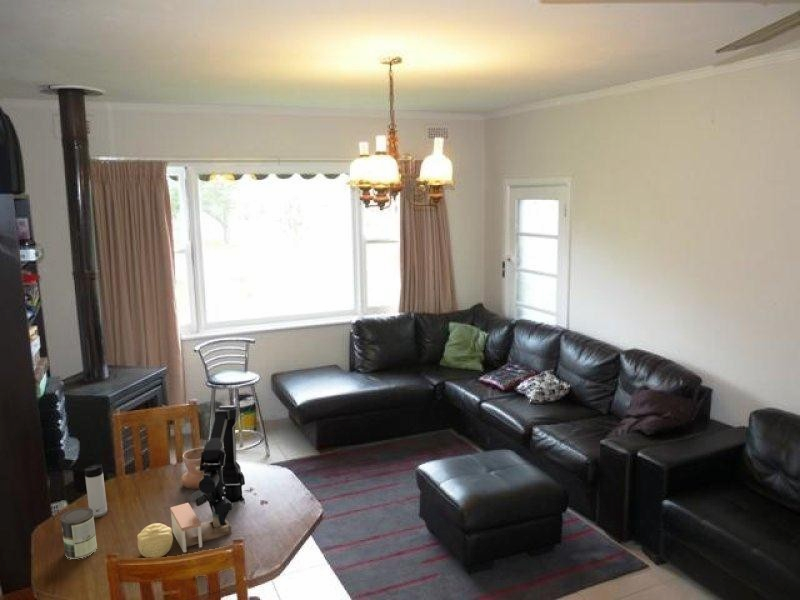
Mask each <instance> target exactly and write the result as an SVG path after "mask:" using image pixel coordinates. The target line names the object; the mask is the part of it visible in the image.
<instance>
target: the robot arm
mask: <svg viewBox="0 0 800 600" xmlns="http://www.w3.org/2000/svg"><path fill="white" fill-rule="evenodd" d="M239 416H240V409H239V408H238V407H237V405H219V408H215V409H214V422H213V426H212V429H211V434H210V438H209V440H208V441H207V442H206V443H205V445H204V447H203V448H204V450H203V451H202V453H201V462H200V471H204V476H203V477H202V479H201V481H200V482H199V489H197V490H196V491H195V492H193V493H192V494H190V497H191V499H192V501H193V502H194V504H195V506H196V507H200V506H202V505H204V504H205V503H207V502H208V505H209V507H210V510H211V511H210V512H212V511H213V512H214V513H215V514H217V516H218V520H219V523H220V525H223V524H224V522H225V519H227V517H228V516H229V515H228V514H229V513H230V512H231V511H232V510H233V503H235V502H238V501H242V500H244V499H245V498H244V497H243V486H244V485H246V479H245V474H243V472H242V471H241V469H242V468H241V465H240V464H239V462H238V461H237V455H236V452H237V451H236V437H235V435H236V433H235V425H236V424H237V422H238V421H239ZM204 463H205V464H209V465H204Z"/></svg>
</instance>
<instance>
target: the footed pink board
mask: <svg viewBox="0 0 800 600" xmlns="http://www.w3.org/2000/svg"><path fill="white" fill-rule="evenodd" d="M169 511H170V515H171V517H170V518H171V529H172V535H173V536H174V537H175V539H176V541H177V543H178V545H179V546H180V549H181V550H182V552H183V553H187V547H186V539H185V530H188V529H192V528H195V527H197V531H198V548H202V547H203V542H202V536H201V523H202V522H201V521H200V519H199V518H198V515H197V514H196V513H195V511H194V510H193V508H192V506H191V504H190V503H189V502H185V503H182V504H178V505H174V506H171V507H170V509H169Z"/></svg>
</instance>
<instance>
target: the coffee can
mask: <svg viewBox="0 0 800 600" xmlns="http://www.w3.org/2000/svg"><path fill="white" fill-rule="evenodd" d="M60 524H61V533H62V539H63V546H64V556H66V557H67V558H66V557H65V558H66V559H68V558H70V559H69V560H71V559H78V558H82V559H84V558H83V557H85V558H87V557H86V556H88V557H90V556H92V555H93V554H94V553H95V552H96V551H97V550H98V546H97V545H98V544H97V536H96V535H97V534H96V526H95V517H93V510H92V509H90V508H89V507H77V508H73V509H70V510H68V511H66V512H65V513H63V514H62V515H61V516H60ZM96 549H97V550H96ZM93 552H94V553H93ZM92 553H93V554H92ZM91 554H92V555H91ZM89 555H90V556H89ZM78 560H79V559H78Z"/></svg>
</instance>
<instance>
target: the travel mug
mask: <svg viewBox="0 0 800 600" xmlns="http://www.w3.org/2000/svg"><path fill="white" fill-rule="evenodd" d="M103 470H104V469H103V464H101V463H96V464H93V465H92V464H91V465H89V466H88V467H86V468H84V478H85V485H86V486H85V487H86V494H87V501H88V503H87V504H88V508H90V509H92V510H93V517H94V518H101V517H103V516H105V515H106V514H107V513H108V505H107V498H106V497H107V496H106V488H105V479H104V471H103Z"/></svg>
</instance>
